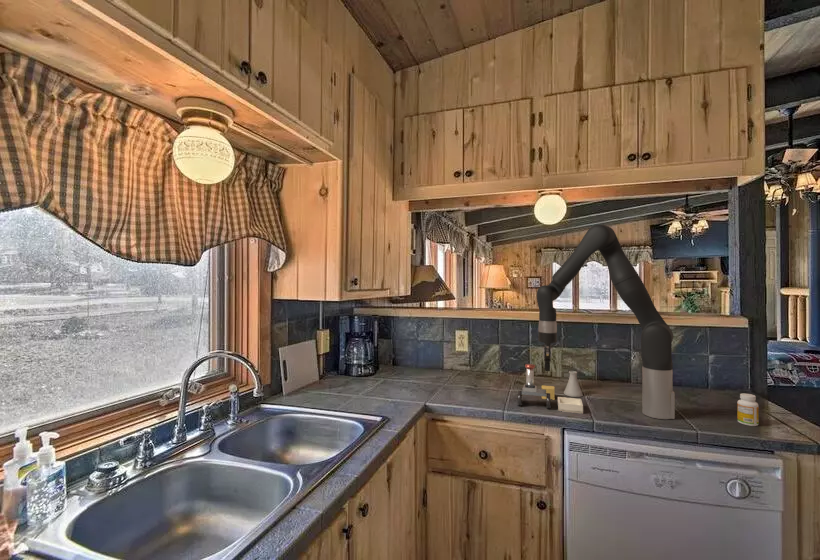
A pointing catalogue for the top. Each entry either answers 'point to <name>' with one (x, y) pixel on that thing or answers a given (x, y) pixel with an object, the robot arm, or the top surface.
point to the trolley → (534, 392)
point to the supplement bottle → (747, 410)
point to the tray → (570, 405)
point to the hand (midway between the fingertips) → (547, 370)
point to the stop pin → (529, 375)
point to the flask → (573, 386)
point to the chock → (549, 391)
